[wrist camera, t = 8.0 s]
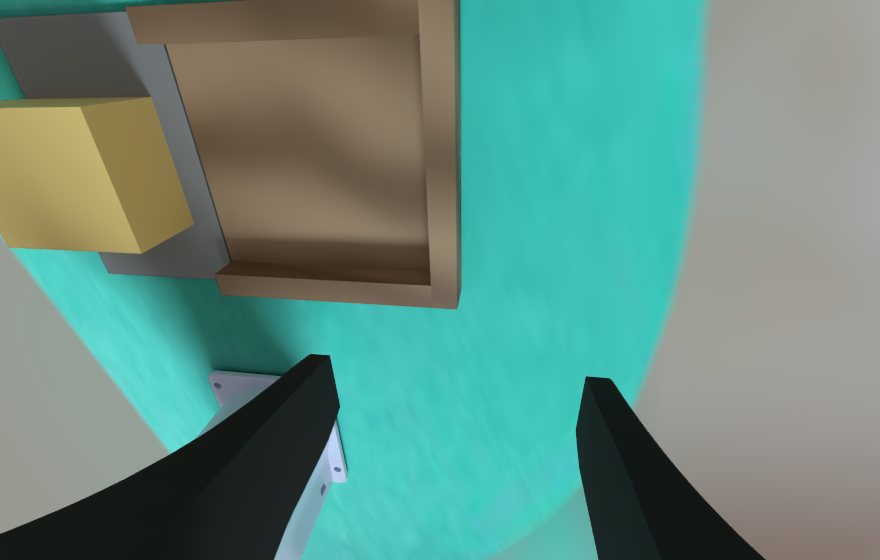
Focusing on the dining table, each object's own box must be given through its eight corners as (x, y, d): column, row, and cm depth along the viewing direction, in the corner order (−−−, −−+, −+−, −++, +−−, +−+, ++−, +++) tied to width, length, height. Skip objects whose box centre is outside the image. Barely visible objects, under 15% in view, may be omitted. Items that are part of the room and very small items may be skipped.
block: (194, 224, 21) (141, 253, 18) (77, 220, 22) (8, 247, 19) (151, 96, 18) (79, 107, 15) (18, 98, 19) (-73, 108, 16)
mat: (239, 277, 23) (236, 280, 23) (113, 271, 24) (108, 273, 24) (158, 10, 17) (153, 10, 17) (-5, 19, 18) (-13, 18, 18)
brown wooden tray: (461, 290, 21) (457, 309, 20) (240, 278, 23) (221, 294, 21) (460, -5, 15) (453, -11, 13) (160, 10, 17) (124, 6, 15)
